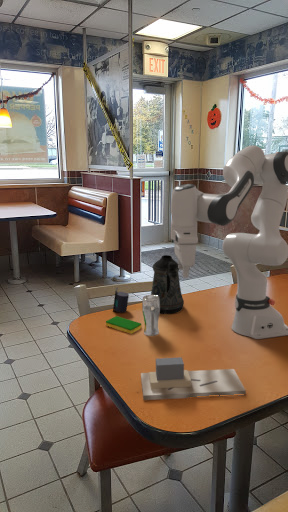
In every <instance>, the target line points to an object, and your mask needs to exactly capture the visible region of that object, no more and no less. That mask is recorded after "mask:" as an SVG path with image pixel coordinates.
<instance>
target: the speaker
mask: <svg viewBox="0 0 288 512" xmlns="http://www.w3.org/2000/svg"><path fill="white" fill-rule="evenodd" d="M118 289H119V287H118V286H116V288H115V291H114V292H115V293H114V301H113V309H112V312H113V313H114V311H116V312H117V313H122V314H123V313H126V312H127V309H128V304H129V298H130V297H129V296H130V295H129V293H127V292H125V291H118Z"/></svg>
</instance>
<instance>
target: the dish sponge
mask: <svg viewBox="0 0 288 512" xmlns="http://www.w3.org/2000/svg"><path fill="white" fill-rule="evenodd" d="M106 325H107V326H106ZM105 326H106V327H108V326H109V328H111V327H112V329H115V330H118V331H121V332H125V333H128V334H131V335H132V334H133V333H135V332H138V330H141V329H142V323H141V322H137V321H134V320H131V319H128V318H124V317H122V316H118V315H116V316H113V317H111V318H110V319H107V320H105Z"/></svg>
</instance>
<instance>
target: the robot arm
mask: <svg viewBox="0 0 288 512" xmlns="http://www.w3.org/2000/svg"><path fill="white" fill-rule="evenodd" d="M222 177H223V179H224V181H225V183H226V184H227V186H229V187H231V188H230V190H229V191H228V192H227V193H222V194H217V193H216V194H214V193H204V192H203V191H201V190H199V189H198V188H197V186H196V185H195V184H194V183H193V184H192V183H187V184H179V185H177V186H175V187H174V188H173V189H172V192H171V198H170V199H171V201H170V214H171V222H170V240H173V244H174V249H173V250H174V254H175V257H176V258H177V263H178V268H179V271H182V277H183V278H184V279H188V278H189V276H190V275H189V273H190V270H191V269H190V268H194V266H195V262H196V253H197V252H196V250H197V245H196V244H198V243H199V238H198V222H201V223H208V224H209V223H210V224H214V225H217V226H218V225H219V226H228V225H229V224H230V223H231V222H232V221H233V220H234V219H235V217H236V215H237V213H238V210H239V208H240V207H241V205H242V204H243V202H244V201H245V199H246V198H247V196H248V195H249V193H251V190H252V189H253V186H259V185H261V186H262V189H261V192H260V194H259V196H258V198H257V201H256V203H255V205H254V208H253V211H252V213H251V216H250V220H251V224H252V225H253V227H255V229H257V230H259V232H258V233H257V234H256V233H245V232H232V233H229V234H227V235H226V236H225V237H224V239H223V242H222V245H221V246H222V251H223V253H224V255H225V256H226V258H228V260H229V261H230V262H231V263H232V265H233V268H234V270H235V272H236V279H237V293H236V294H235V302H234V304H235V313H234V317H233V321H232V324H231V330H232V331H233V332H235V333H236V334H239V335H242V336H246V337H250V338H252V339H255V340H261V339H268V338H269V339H270V338H275V337H276V338H277V337H284V336H288V325H287V324H285V319H284V317H283V315H282V314H281V313H280V312H279V310H277V309H276V308H274V307H273V306H274V305H275V304H276V302H275V300H274V299H272V298H271V297H269V296H268V295H267V287H268V279H267V276H266V275H265V274H264V273H263V272H262V271H260V270H259V269H258V266H257V265H256V264H258V265H264V266H281V265H283V264H284V263H285V262H286V261H287V259H288V243H287V241H286V240H285V239H284V238H283V237H282V235H281V232H280V224H281V221H282V218H283V214H284V212H285V208H286V206H287V202H288V186H287V184H288V151H284V150H283V151H278V152H273V153H268V154H265V152H264V150H263V149H262V148H261V147H259V146H257V145H251V144H250V145H248V146H246V147H244V148H242V149H240V150H239V151H237V152H236V153H235V154H234V155H233V156H231V157H230V158H229V160H227V161H226V162H225V164H224V166H223V169H222Z"/></svg>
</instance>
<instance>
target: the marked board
mask: <svg viewBox="0 0 288 512" xmlns="http://www.w3.org/2000/svg"><path fill="white" fill-rule="evenodd" d="M188 373H189V376H190V379H191V387H175V388H158V389H151V387H150V380H149V372H141V373H140V379H141V380H140V383H141V390H142V398H143V399H142V400H143V401H150V400H152V401H153V400H154V401H155V400H172V399H173V400H174V399H175V400H177V399H191V398H190V397H197V396H209V395H219V396H218V397H221V396H220V395H234V394H246V392H247V390H246V388H245V386H244V385H243V383H242V381H241V380H240V377H239V376H238V373H237V372H236V370H235V369H234V368H226V369H223V368H222V369H204V370H188ZM246 395H247V394H246ZM188 397H189V398H188ZM197 398H198V397H197Z"/></svg>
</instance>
